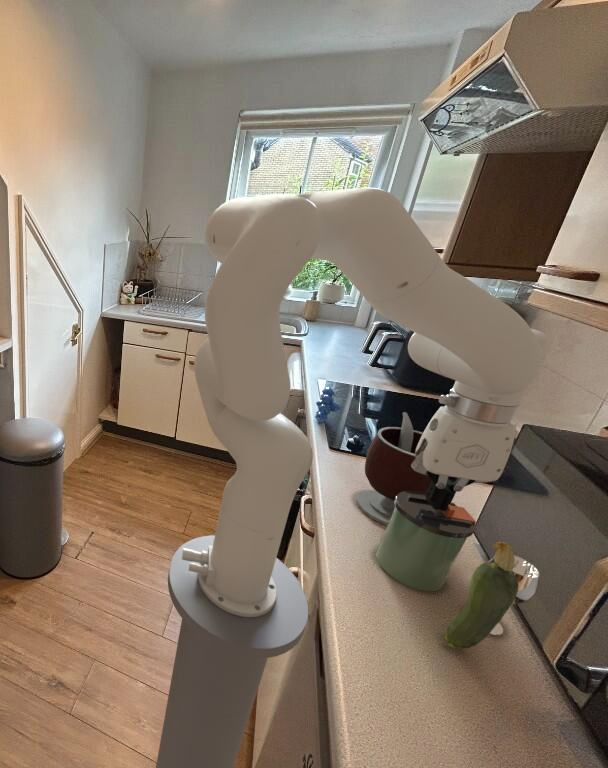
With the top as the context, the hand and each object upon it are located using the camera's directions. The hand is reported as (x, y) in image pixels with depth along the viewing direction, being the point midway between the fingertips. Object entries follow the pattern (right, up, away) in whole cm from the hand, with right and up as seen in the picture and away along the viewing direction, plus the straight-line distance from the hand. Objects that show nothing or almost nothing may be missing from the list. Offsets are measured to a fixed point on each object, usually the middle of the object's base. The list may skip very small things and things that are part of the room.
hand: (435, 504), depth 68 cm
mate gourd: (+7, -7, +21) cm, 23 cm away
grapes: (+14, +8, +58) cm, 60 cm away
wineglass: (+4, -17, -4) cm, 18 cm away
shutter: (+3, -1, 0) cm, 3 cm away
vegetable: (-4, -19, -9) cm, 21 cm away
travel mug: (0, -13, +5) cm, 14 cm away
